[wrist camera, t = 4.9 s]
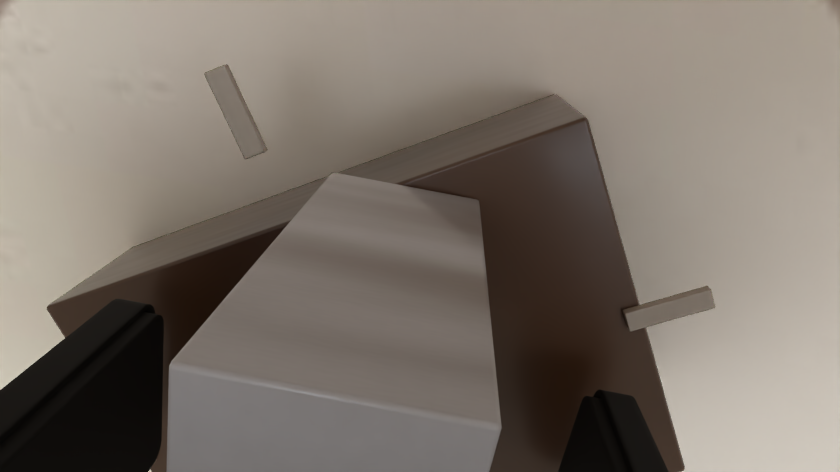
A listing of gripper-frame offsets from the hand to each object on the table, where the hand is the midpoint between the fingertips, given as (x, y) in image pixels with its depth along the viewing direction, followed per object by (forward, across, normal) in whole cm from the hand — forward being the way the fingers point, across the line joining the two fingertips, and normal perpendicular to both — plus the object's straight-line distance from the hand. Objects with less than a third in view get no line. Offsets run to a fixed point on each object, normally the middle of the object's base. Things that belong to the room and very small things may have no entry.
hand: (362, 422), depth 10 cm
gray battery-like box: (+1, 0, 0) cm, 1 cm away
